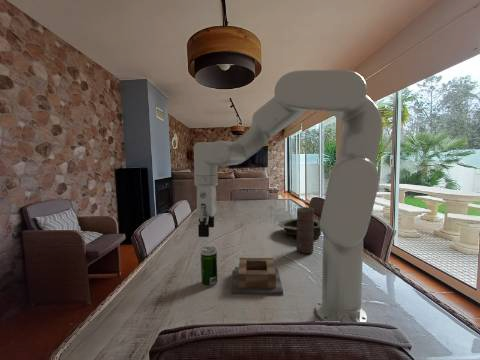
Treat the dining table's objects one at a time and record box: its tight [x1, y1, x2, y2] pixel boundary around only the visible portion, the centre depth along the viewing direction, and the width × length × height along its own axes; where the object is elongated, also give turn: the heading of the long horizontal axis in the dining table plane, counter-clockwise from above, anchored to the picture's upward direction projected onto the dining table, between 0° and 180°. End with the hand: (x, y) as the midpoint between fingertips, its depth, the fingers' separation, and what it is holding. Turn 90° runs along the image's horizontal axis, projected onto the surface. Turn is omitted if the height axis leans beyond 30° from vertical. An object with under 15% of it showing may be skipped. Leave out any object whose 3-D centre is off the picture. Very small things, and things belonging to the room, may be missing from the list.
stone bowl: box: [277, 217, 322, 240], centre depth 126 cm, size 25×25×9 cm
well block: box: [231, 257, 284, 296], centre depth 80 cm, size 16×16×6 cm
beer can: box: [200, 246, 218, 288], centre depth 78 cm, size 5×5×12 cm
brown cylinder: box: [295, 206, 315, 254], centre depth 103 cm, size 8×7×20 cm
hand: (206, 231), depth 77 cm, fingers open, 9 cm apart
